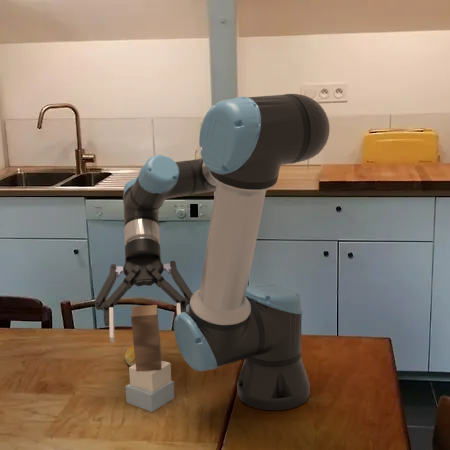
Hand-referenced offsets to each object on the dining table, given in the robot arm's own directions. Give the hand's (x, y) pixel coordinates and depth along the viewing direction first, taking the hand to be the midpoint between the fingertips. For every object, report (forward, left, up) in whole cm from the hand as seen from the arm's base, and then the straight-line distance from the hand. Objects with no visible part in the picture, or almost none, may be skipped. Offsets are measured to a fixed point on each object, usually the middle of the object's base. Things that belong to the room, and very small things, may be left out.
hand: (146, 337), depth 141 cm
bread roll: (+15, -15, -15) cm, 25 cm away
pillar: (+1, -1, -7) cm, 7 cm away
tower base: (+1, -1, -15) cm, 15 cm away
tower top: (+1, -1, -11) cm, 11 cm away
